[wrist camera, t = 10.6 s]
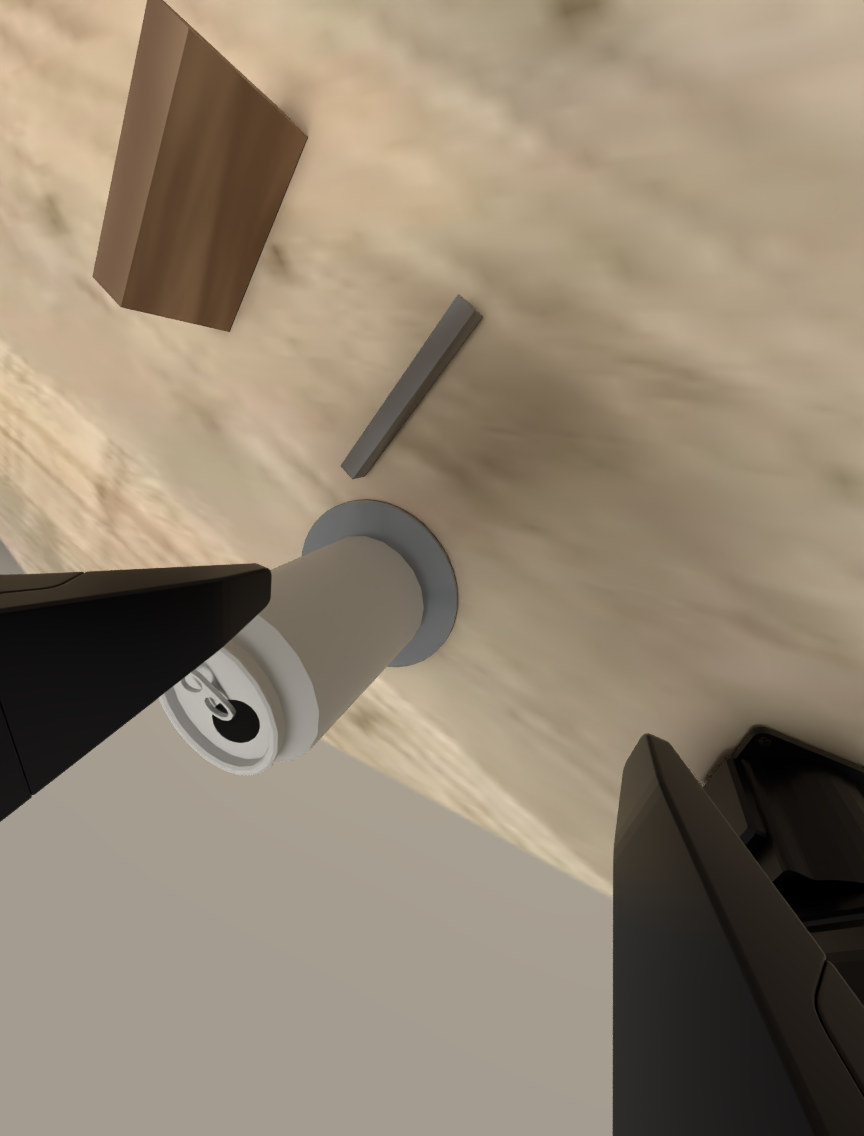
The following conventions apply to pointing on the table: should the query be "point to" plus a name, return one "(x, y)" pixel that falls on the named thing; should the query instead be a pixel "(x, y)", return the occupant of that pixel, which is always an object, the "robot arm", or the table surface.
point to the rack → (218, 204)
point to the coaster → (415, 550)
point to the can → (299, 657)
